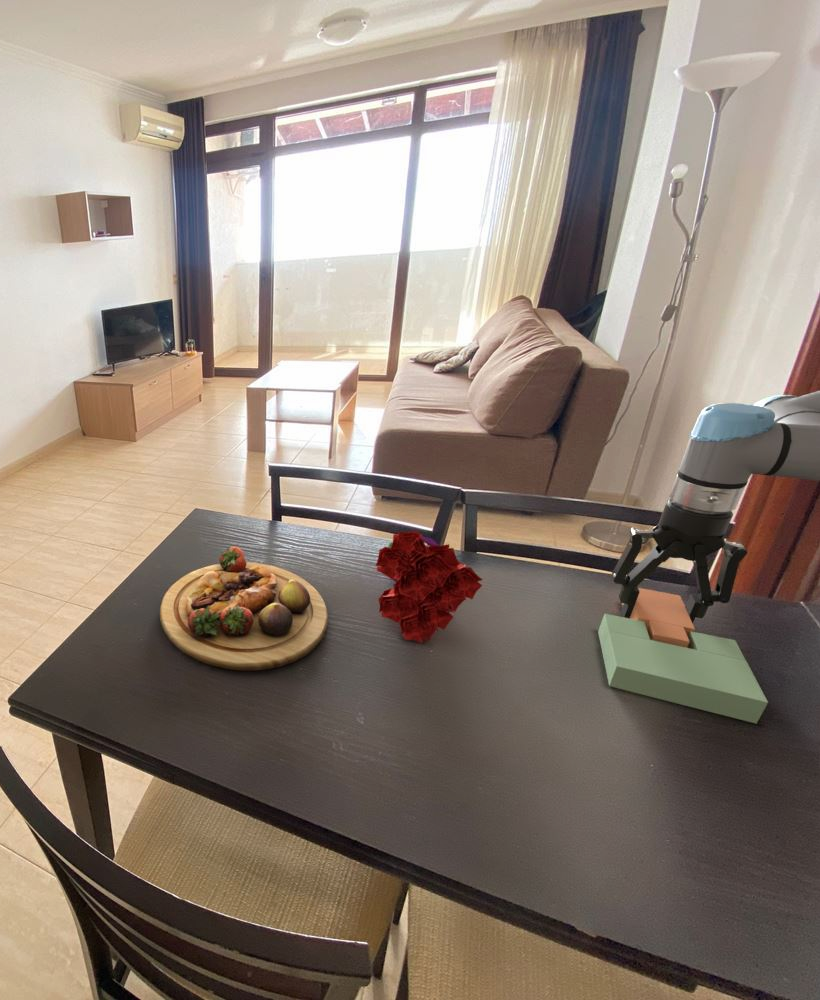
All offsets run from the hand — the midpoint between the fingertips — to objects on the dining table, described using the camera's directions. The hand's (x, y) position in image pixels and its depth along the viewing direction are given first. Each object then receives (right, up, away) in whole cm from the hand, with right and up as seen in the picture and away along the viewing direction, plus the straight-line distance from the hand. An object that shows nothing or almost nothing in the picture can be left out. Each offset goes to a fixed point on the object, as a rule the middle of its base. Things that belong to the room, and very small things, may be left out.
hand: (652, 623), depth 93 cm
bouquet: (-36, +3, +14) cm, 38 cm away
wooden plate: (-69, -1, +12) cm, 70 cm away
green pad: (-6, -5, -9) cm, 13 cm away
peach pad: (-1, -1, -1) cm, 2 cm away
